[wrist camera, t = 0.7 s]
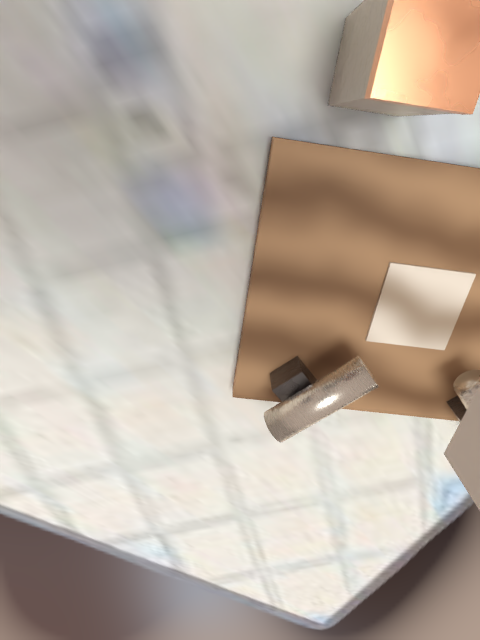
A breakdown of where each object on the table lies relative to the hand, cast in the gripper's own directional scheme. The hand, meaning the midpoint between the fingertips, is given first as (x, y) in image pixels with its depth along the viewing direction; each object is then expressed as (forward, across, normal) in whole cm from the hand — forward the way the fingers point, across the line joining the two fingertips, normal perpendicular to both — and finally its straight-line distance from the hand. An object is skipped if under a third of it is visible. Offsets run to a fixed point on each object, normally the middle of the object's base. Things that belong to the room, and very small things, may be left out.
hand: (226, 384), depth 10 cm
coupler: (+23, +8, +11) cm, 27 cm away
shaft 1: (+22, +9, -13) cm, 27 cm away
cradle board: (+23, +16, -5) cm, 29 cm away
